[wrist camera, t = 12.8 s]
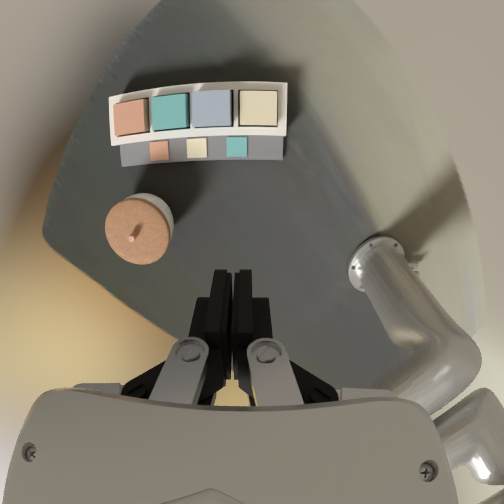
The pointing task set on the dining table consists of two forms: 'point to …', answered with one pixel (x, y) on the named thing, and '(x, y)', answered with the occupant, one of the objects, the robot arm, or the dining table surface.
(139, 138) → the keypad
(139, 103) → the key
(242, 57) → the dining table surface
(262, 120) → the key
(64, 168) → the dining table surface
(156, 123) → the key
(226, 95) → the key
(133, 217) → the lidded jar
